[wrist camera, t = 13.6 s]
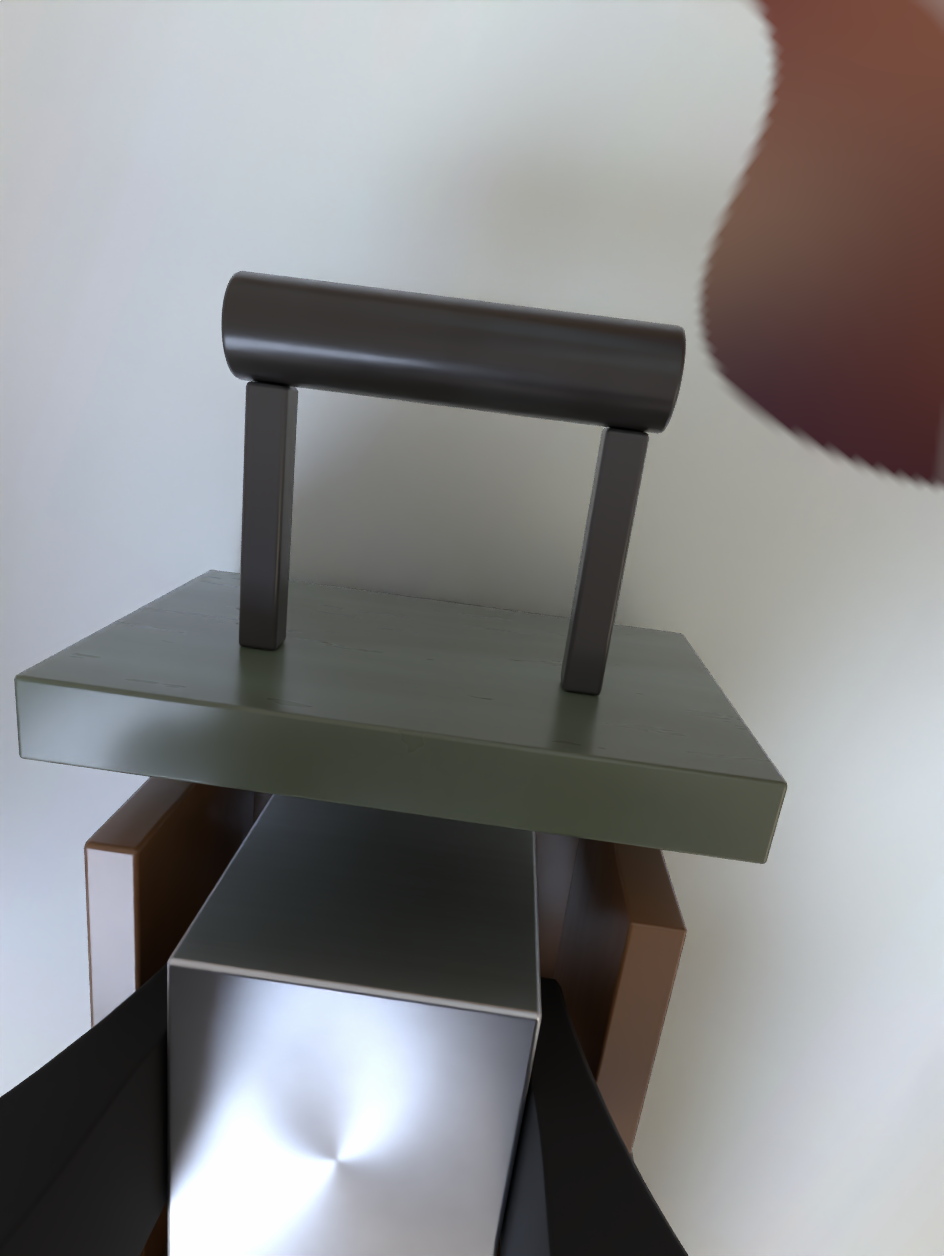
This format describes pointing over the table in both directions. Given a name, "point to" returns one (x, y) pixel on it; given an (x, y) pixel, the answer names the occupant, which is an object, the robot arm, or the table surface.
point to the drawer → (418, 676)
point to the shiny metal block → (353, 1037)
